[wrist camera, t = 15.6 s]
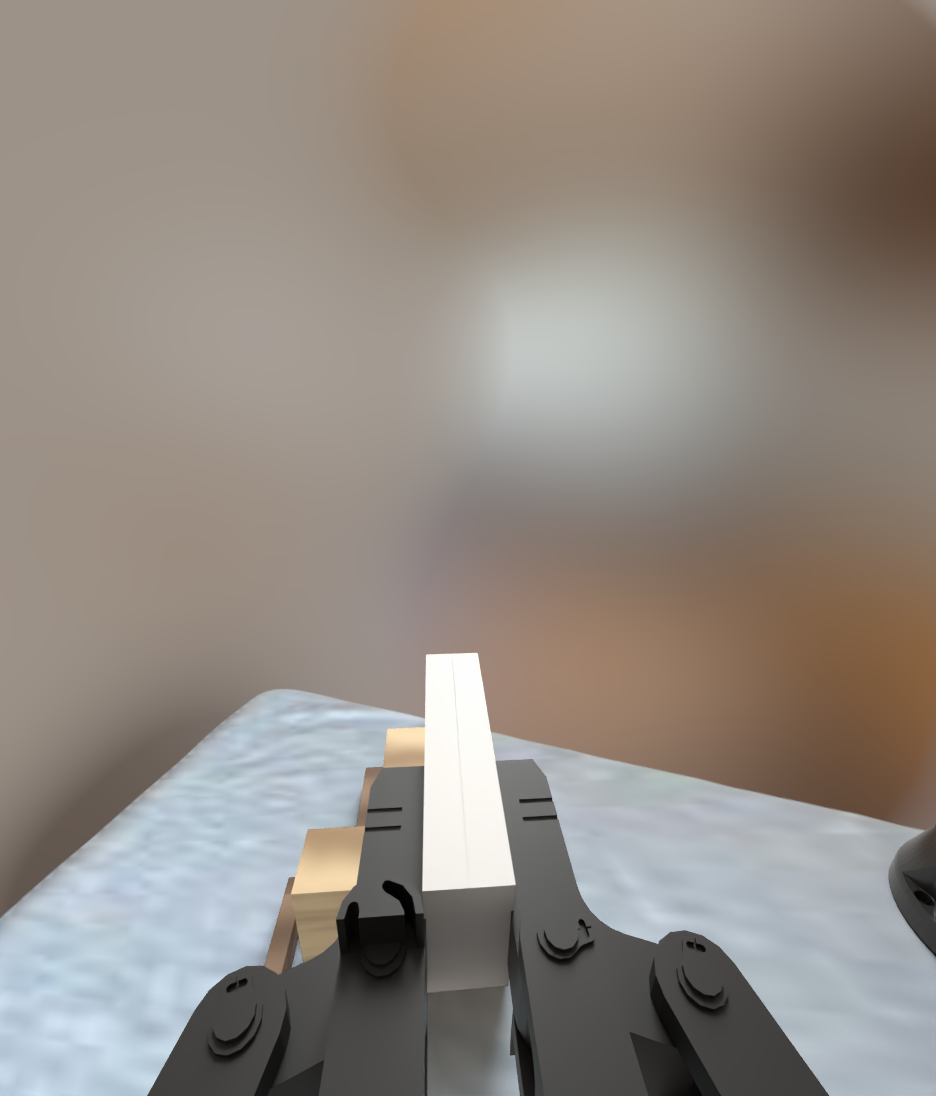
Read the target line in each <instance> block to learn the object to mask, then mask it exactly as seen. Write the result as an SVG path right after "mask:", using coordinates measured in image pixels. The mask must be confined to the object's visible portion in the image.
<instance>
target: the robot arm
mask: <svg viewBox="0 0 936 1096" xmlns="http://www.w3.org/2000/svg"><path fill="white" fill-rule="evenodd" d="M425 704H426V705H425V760H424V766H410V767H389V768H382V769H381V771H380V772H379V774H378V776H377V777H376V779H375V781H374V782H373V784H372V786H371V787H370V794H369V801H368V808H367V815H366V822H365V832H364V836H363V843H362V850H361V857H360V864H359V870H358V877H357V884H356V885H355V886H354V887H353V888H352V889H351V891H350V892H349V893H348V895H347V896H346V897H345V898H344V900H343V901H342V903H341V906H340V909H339V912H338V915H337V918H336V925H337V932H338V938H337V939H336V941H335V942H334V943H333V944H332V945H331V946H329V947H328V948H327V949H326V950H325V951H324V952H323V953H321V954H319V955H318V956H316V957H314V958H312V959H311V960H309V961H307V962H304V963H302V964H300V965H298V966H296V967H293V968H291V969H289V970H287V971H285V972H283V973H280V974H277V973H276V972H274V971H272V970H270V969H268V968H267V967H265V966H246V967H244V968H241V969H239V970H237V971H235V972H232V973H230V974H228V975H227V976H225V977H224V978H223V979H222V980H221V981H220V982H218V983H217V984H216V985H215V986H214V987H212V988H211V989H210V990H209V991H208V993H207V994H206V996H205V997H204V998H203V1000H202V1001H201V1003H200V1004H199V1005H198V1007H197V1008H196V1009H195V1011H194V1013H193V1014H192V1016H191V1018H190V1020H189V1022H188V1023H187V1025H186V1027H185V1029H184V1031H183V1032H182V1034H181V1036H180V1038H179V1040H178V1041H177V1043H176V1045H175V1047H174V1049H173V1050H172V1052H171V1054H170V1056H169V1058H168V1059H167V1061H166V1063H165V1065H164V1067H163V1068H162V1070H161V1072H160V1074H159V1076H158V1077H157V1079H156V1081H155V1083H154V1085H153V1086H152V1088H151V1090H150V1092H149V1094H148V1095H147V1096H427V1050H428V1038H427V993H430V992H442V991H454V990H465V989H477V988H489V987H501V986H508V980H510V988H511V995H512V1003H513V1015H512V1027H511V1041H510V1055H515V1058H516V1066H517V1075H518V1083H519V1091H520V1096H829V1095H828V1093H827V1092H826V1091H825V1089H824V1088H823V1086H822V1085H821V1084H820V1082H819V1081H818V1079H817V1078H816V1077H815V1075H814V1074H813V1072H812V1071H811V1070H810V1068H809V1067H808V1066H807V1064H806V1063H805V1061H804V1060H803V1059H802V1057H801V1056H800V1054H799V1053H798V1052H797V1050H796V1049H795V1047H794V1046H793V1045H792V1043H791V1042H790V1040H789V1039H788V1038H787V1036H786V1035H785V1033H784V1032H783V1031H782V1029H781V1028H780V1026H779V1025H778V1024H777V1022H776V1021H775V1019H774V1018H773V1017H772V1015H771V1014H770V1012H769V1011H768V1010H767V1008H766V1007H765V1005H764V1004H763V1003H762V1001H761V1000H760V999H759V997H758V996H757V994H756V993H755V992H754V990H753V989H752V987H751V986H750V985H749V983H748V982H747V980H746V979H745V978H744V976H743V975H742V973H741V972H740V971H739V969H738V968H737V966H736V965H735V964H734V963H733V961H732V960H731V959H730V958H729V957H728V956H727V955H726V954H725V953H724V952H723V950H722V949H721V948H720V947H719V946H717V945H716V944H714V943H713V942H711V941H710V940H708V939H707V938H705V937H704V936H702V935H699V934H695V933H692V932H689V931H685V930H684V931H677V932H670V933H669V934H668V935H666V936H665V937H664V938H663V939H661V940H660V941H659V944H656V943H653V942H649V941H646V940H643V939H640V938H636V937H633V936H630V935H626V934H623V933H621V932H619V931H616V930H614V929H612V928H610V927H609V926H607V925H606V924H604V923H603V922H601V921H600V920H599V919H598V918H597V917H596V916H595V915H594V914H593V913H592V912H591V911H590V910H589V908H588V907H587V905H586V904H585V902H584V901H583V899H582V897H581V895H580V892H579V890H578V887H577V884H576V880H575V877H574V873H573V870H572V866H571V863H570V859H569V856H568V852H567V849H566V845H565V842H564V838H563V834H562V831H561V827H560V824H559V820H558V819H557V813H556V810H555V806H554V803H553V802H552V796H551V792H550V789H549V785H548V781H547V778H546V776H545V775H544V773H543V772H542V771H541V770H540V768H539V767H538V766H537V764H536V763H535V762H534V761H533V759H528V760H507V761H495V756H494V750H493V744H492V738H491V732H490V726H489V719H488V713H487V707H486V702H485V695H484V689H483V683H482V677H481V671H480V665H479V659H478V654H477V653H466V654H465V653H464V654H431V655H426V700H425ZM889 884H890V888H891V891H892V894H893V897H894V899H895V901H896V903H897V905H898V907H899V909H900V911H901V912H902V914H903V915H904V917H905V918H906V920H907V921H908V923H909V924H910V925H911V927H912V928H913V929H914V931H915V932H916V933H917V934H918V935H919V937H920V938H921V939H922V940H923V941H924V942H925V943H926V945H927V946H928V947H929V948H930V949H931V950H932V951H933V952H934V953H935V954H936V825H935V826H933V827H931V828H930V829H928V830H926V831H925V832H923V833H921V834H919V835H918V836H916V837H914V838H913V839H911V840H909V841H908V842H906V843H905V844H904V845H903V846H902V847H901V848H900V849H899V850H898V852H897V854H896V856H895V858H894V860H893V862H892V864H891V866H890V869H889Z"/></svg>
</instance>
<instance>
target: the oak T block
mask: <svg viewBox="0 0 936 1096" xmlns="http://www.w3.org/2000/svg"><path fill="white" fill-rule="evenodd" d="M424 760H425V727H420V728H398V729H388V730H387V739H386V747H385V756H384V765H383V768H389V767H410V766H424ZM364 832H365V826H359V827H342V828H326V829H309V830H308V831H307V835H306V839H305V843H304V846H303V850H302V854H301V858H300V862H299V865H298V869H297V873H296V877H295V881H294V884H293V888H292V892H291V898H292V903H293V909H294V914H295V920H296V925H297V931H298V936H299V941H300V947H301V952H302V958H303V963H304V962H307V961H309V960H311V959H312V958H314V957H316V956H318V955H319V954H321V953H323V952H324V951H325V950H326V949H327V948H328V947H329V946H331V945H332V944H333V943H334V942H335V941H336V939H337V938H338V932H337V925H336V918H337V915H338V912H339V909H340V906H341V903H342V901H343V900H344V898H345V897H346V896H347V895H348V893H349V892H350V891H351V889H352V888H353V887H354V886H355V885H356V884H357V877H358V870H359V864H360V857H361V850H362V843H363V836H364Z"/></svg>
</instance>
